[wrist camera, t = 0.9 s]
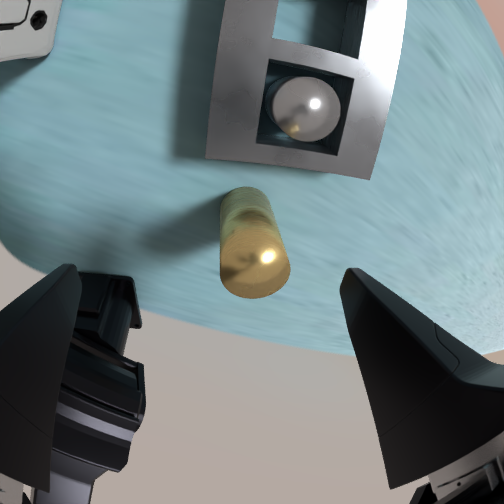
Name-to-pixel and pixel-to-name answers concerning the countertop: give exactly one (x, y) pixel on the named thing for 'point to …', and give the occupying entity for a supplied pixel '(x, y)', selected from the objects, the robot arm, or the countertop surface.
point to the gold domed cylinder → (251, 245)
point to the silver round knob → (303, 107)
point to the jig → (314, 59)
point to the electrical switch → (27, 28)
